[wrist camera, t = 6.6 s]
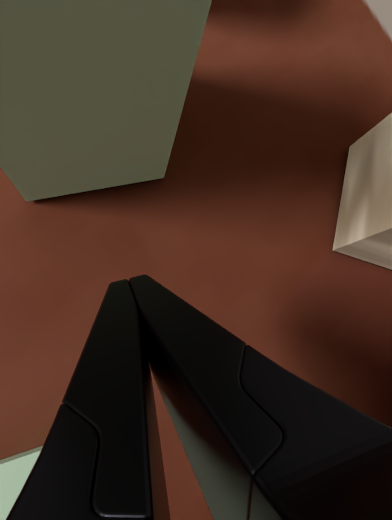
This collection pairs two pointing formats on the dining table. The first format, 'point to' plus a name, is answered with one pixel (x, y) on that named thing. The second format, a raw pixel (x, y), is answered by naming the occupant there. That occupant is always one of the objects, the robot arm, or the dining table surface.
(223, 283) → the dining table surface
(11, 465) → the sage tile
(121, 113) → the sage block
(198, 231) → the dining table surface
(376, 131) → the cream block
